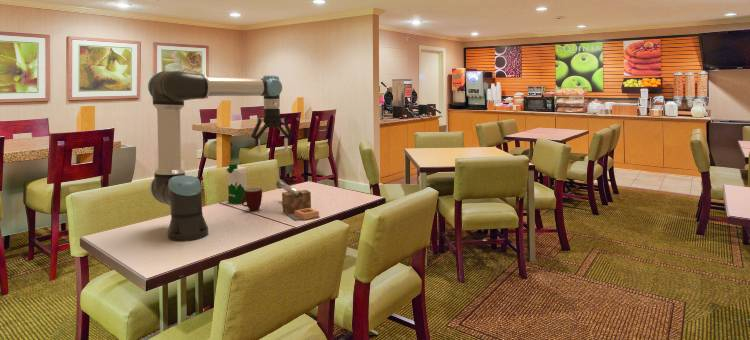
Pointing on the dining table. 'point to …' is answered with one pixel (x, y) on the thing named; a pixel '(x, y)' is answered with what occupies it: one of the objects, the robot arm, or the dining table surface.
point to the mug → (252, 198)
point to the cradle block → (295, 201)
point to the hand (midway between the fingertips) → (272, 152)
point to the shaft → (287, 188)
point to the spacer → (306, 213)
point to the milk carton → (236, 183)
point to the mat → (297, 217)
